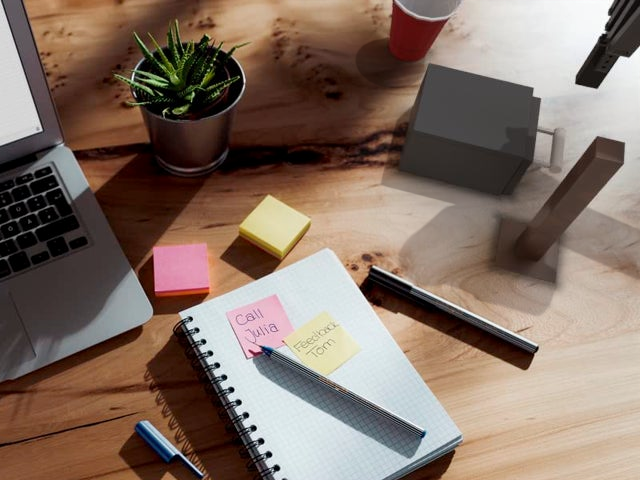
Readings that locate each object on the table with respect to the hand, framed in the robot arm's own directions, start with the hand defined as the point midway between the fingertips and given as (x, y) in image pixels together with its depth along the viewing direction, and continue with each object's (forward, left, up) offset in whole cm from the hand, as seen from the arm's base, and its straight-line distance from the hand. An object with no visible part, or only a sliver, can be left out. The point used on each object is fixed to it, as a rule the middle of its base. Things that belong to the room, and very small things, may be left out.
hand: (586, 82), depth 81 cm
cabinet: (+11, +1, -17) cm, 20 cm away
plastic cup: (+21, -17, -17) cm, 32 cm away
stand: (-1, +15, -17) cm, 23 cm away
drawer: (+7, +1, -16) cm, 17 cm away
